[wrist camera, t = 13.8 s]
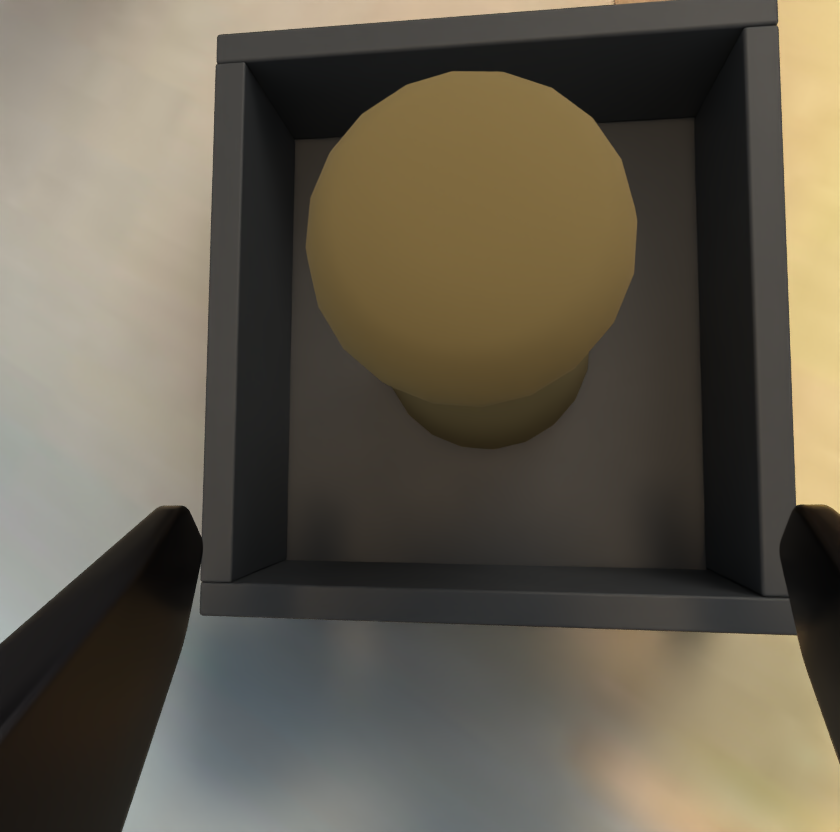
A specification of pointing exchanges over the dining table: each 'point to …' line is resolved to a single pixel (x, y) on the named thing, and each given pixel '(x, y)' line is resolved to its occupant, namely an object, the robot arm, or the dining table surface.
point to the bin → (607, 361)
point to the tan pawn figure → (473, 251)
